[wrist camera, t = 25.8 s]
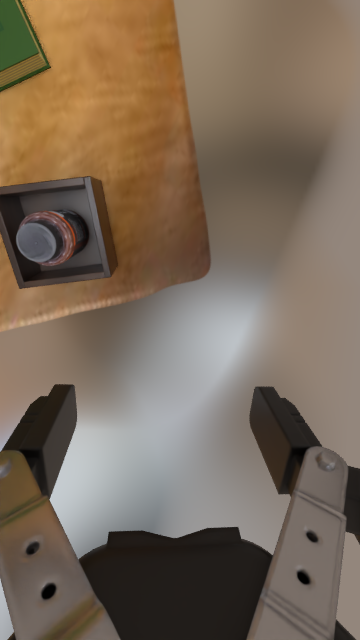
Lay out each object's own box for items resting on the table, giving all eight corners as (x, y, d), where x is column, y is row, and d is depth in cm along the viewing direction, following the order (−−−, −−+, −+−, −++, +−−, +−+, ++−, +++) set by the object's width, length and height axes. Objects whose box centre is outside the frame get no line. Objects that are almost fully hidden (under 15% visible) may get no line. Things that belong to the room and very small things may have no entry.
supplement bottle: (64, 199, 39) (30, 197, 28) (99, 233, 40) (79, 244, 30) (36, 231, 40) (-7, 241, 29) (70, 262, 42) (41, 282, 31)
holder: (101, 180, 39) (90, 175, 32) (117, 266, 43) (111, 277, 37) (14, 190, 39) (-15, 188, 32) (39, 276, 43) (19, 289, 37)
